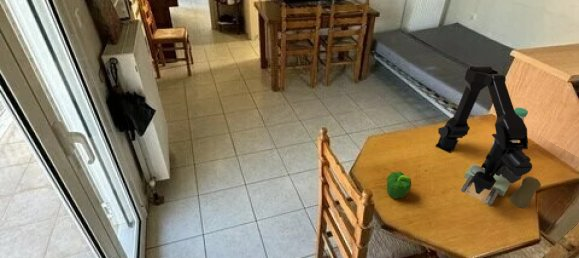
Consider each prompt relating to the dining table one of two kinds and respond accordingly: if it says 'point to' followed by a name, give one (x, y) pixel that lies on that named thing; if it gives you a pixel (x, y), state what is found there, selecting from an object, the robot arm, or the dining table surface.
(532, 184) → the olive pepper mill
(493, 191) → the bracket
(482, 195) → the tan and grey block
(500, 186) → the sage green knobbed slab
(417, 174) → the dining table surface
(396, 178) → the bell pepper
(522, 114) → the milk bottle
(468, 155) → the dining table surface
